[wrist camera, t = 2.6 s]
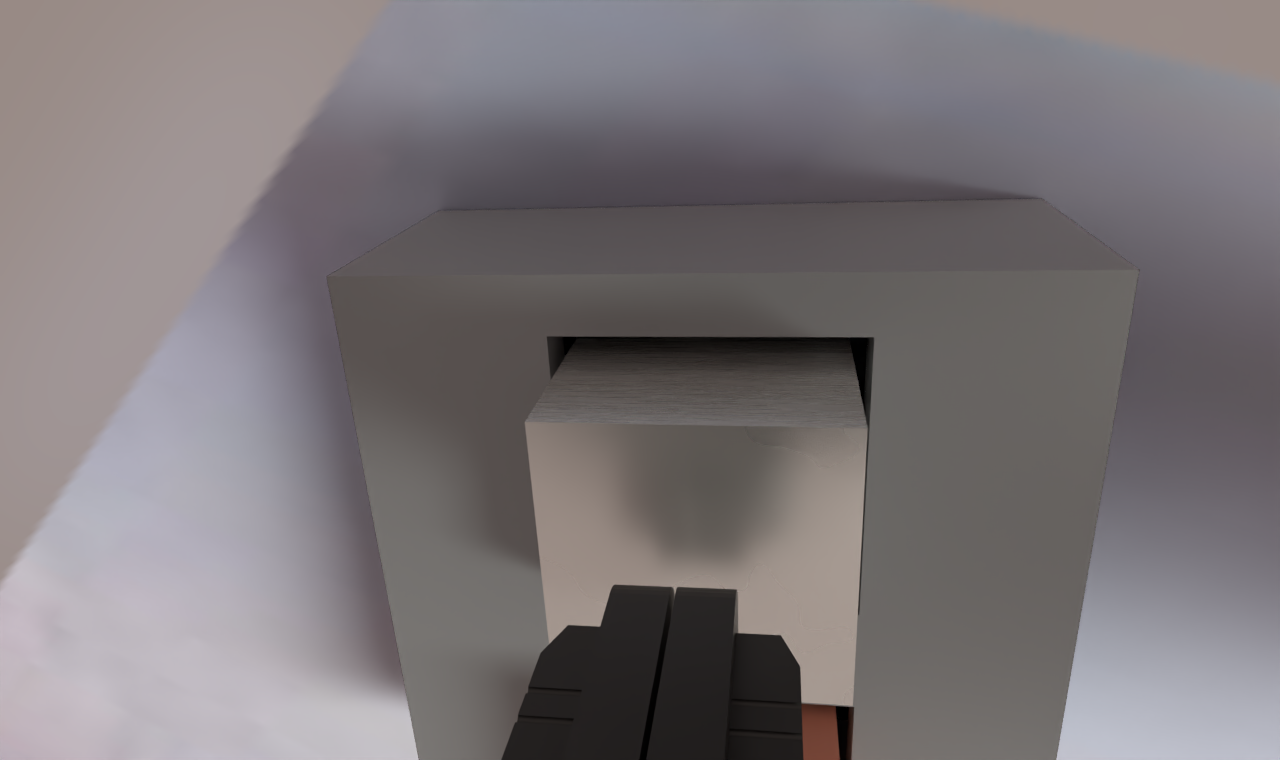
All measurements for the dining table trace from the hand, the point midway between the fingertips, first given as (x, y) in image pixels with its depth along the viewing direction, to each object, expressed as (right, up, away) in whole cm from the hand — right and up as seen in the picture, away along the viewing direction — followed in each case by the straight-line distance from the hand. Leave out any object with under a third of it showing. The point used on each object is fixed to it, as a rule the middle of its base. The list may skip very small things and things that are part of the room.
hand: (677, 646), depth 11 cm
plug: (+1, +2, +5) cm, 6 cm away
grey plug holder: (+2, 0, +10) cm, 10 cm away
